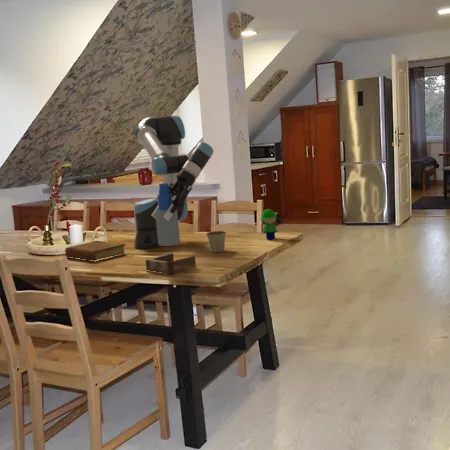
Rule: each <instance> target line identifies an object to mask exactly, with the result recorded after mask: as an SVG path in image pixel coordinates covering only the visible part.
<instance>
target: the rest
mask: <svg viewBox="0 0 450 450" xmlns="http://www.w3.org/2000/svg"><path fill="white" fill-rule="evenodd" d="M196 264H197V263H196V256H195V255H189V256H186V257H183V258H180V259H175V260H174V253H173V252H170V253H165V254H162V255H159V256H155V257H152V258H148V259H145V267H146V271H147V270H150V271H156V272H162V273H166V274H165V275H168V274H170V275H169V276H172V274H173V275H175V273H176V274H178V273H182V272H185V271H189V270H191V269H194V268H196V267H197V265H196ZM156 272H155V273H156ZM162 273H161V274H162Z"/></svg>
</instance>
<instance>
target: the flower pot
mask: <svg viewBox="0 0 450 450" xmlns="http://www.w3.org/2000/svg"><path fill="white" fill-rule="evenodd" d="M206 236H207V238H208V242H209V247H210V252H212V253H217V252H219V253H222V252H224V251H225V244H226V236H227V231H224V230H217V231H215V230H213V231H210V232H207V233H206Z"/></svg>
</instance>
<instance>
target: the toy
mask: <svg viewBox="0 0 450 450" xmlns="http://www.w3.org/2000/svg"><path fill="white" fill-rule="evenodd" d="M261 214H262V216H261V217H260V220H263V222H264V225H263V231H262V233H263V234H265V237H266V238H267V239H266V240H268V241H274V240H273V239H275V240H276V233H277V232H278V230H277V227H276V224H275V223H277V224H280V223H281V222H280V221H281V220H280V214H279V213H278V212H274V210H272V209H270V208H267V209H264V210H263V212H262V213H261Z"/></svg>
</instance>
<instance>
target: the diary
mask: <svg viewBox="0 0 450 450" xmlns="http://www.w3.org/2000/svg"><path fill="white" fill-rule="evenodd" d="M125 246H126V243H122V242H112V241H104V240H103V241H102V240H94V241H90V242H89V241H88V242H85V243H80V244H77V245H72V246H69V247H66V248H65V249H64V251H65V257H66V256H67V257H73V258H80V259H86V260H94V261H95V260H97V259H101V258H106V257H110V256H115V255H119V254H123V253H125Z"/></svg>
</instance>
